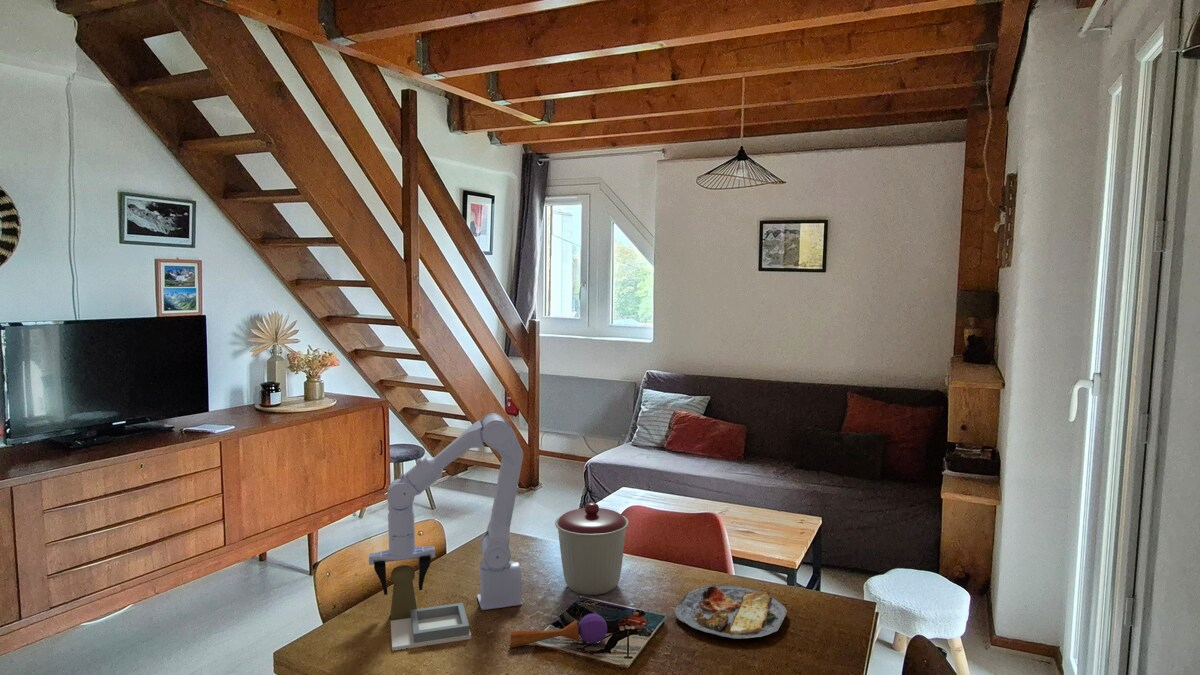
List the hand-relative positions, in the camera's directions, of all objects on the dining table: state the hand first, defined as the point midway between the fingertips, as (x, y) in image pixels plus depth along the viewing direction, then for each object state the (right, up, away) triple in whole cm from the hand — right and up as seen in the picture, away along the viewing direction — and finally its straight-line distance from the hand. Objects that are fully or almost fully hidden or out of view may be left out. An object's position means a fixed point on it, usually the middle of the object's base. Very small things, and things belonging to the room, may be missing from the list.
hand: (403, 590), depth 164 cm
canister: (+43, -4, +14) cm, 45 cm away
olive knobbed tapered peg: (0, -5, -1) cm, 5 cm away
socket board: (+8, -6, -9) cm, 13 cm away
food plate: (+74, -5, -3) cm, 75 cm away
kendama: (+36, -6, -14) cm, 40 cm away
